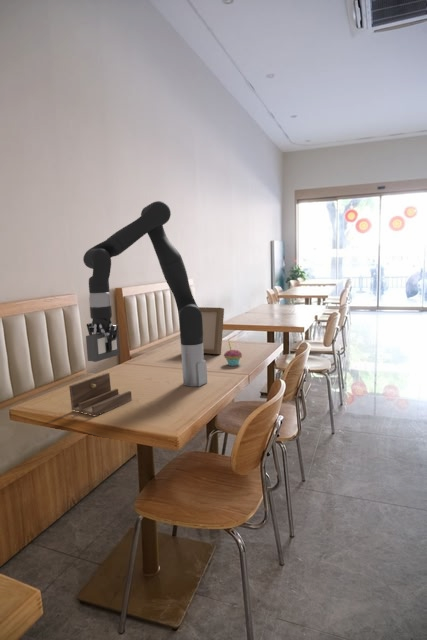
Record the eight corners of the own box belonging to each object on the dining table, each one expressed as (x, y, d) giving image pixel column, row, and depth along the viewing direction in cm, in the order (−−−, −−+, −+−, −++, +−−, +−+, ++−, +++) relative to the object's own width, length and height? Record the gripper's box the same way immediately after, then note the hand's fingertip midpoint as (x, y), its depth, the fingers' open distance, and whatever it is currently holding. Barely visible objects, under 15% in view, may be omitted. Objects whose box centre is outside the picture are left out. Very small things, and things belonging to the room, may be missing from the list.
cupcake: (222, 366, 201) (220, 341, 200) (228, 361, 209) (227, 338, 207) (239, 367, 198) (238, 342, 196) (244, 362, 206) (243, 338, 204)
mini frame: (120, 354, 158) (118, 331, 157) (96, 361, 148) (94, 336, 147) (112, 353, 160) (110, 330, 159) (87, 360, 150) (85, 335, 149)
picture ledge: (131, 400, 159) (129, 376, 158) (95, 416, 144) (92, 390, 143) (109, 396, 166) (107, 372, 164) (72, 411, 151) (69, 385, 149)
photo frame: (216, 355, 222) (214, 308, 219) (183, 353, 234) (180, 308, 231) (230, 350, 235) (228, 305, 232) (198, 347, 246) (195, 305, 243)
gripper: (122, 304, 151) (125, 351, 153) (94, 303, 158) (97, 348, 161) (107, 306, 145) (110, 355, 147) (78, 305, 152) (82, 352, 154)
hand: (103, 351), depth 154 cm, fingers closed on mini frame, 4 cm apart
